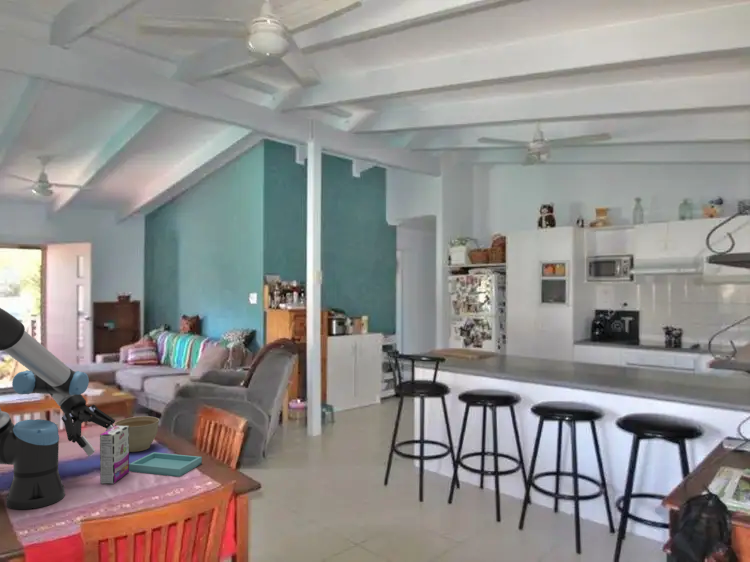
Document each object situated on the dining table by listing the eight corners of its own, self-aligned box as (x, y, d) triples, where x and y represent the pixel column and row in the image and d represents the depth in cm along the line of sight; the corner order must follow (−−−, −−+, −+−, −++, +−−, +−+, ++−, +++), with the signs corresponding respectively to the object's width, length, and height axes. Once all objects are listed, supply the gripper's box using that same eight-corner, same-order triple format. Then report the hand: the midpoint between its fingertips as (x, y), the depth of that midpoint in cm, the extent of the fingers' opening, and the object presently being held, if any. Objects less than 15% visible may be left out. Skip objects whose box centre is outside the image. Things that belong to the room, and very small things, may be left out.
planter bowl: (145, 440, 234) (145, 414, 234) (166, 448, 224) (166, 420, 224) (106, 449, 221) (106, 421, 221) (127, 458, 211) (127, 429, 211)
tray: (179, 476, 192) (179, 469, 192) (128, 471, 197) (128, 464, 197) (201, 463, 205) (201, 456, 205) (153, 458, 210) (153, 452, 210)
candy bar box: (115, 472, 196) (115, 425, 196) (129, 472, 196) (129, 425, 195) (98, 484, 184) (99, 434, 184) (114, 484, 184) (114, 434, 184)
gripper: (89, 399, 209) (123, 443, 205) (33, 415, 184) (72, 466, 181) (101, 386, 207) (136, 430, 204) (48, 400, 183) (86, 451, 180)
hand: (106, 447), depth 193 cm, fingers open, 13 cm apart
